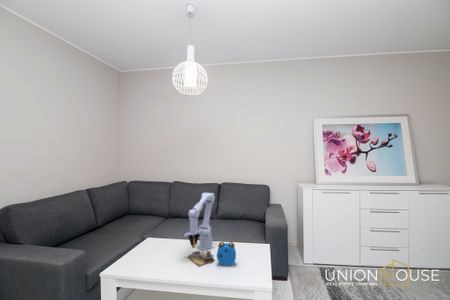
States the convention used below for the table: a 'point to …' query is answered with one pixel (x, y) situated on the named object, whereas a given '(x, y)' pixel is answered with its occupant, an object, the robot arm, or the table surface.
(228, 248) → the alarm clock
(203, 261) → the wooden board with socket
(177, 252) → the table surface
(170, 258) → the table surface
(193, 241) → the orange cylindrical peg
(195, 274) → the table surface
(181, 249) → the table surface
